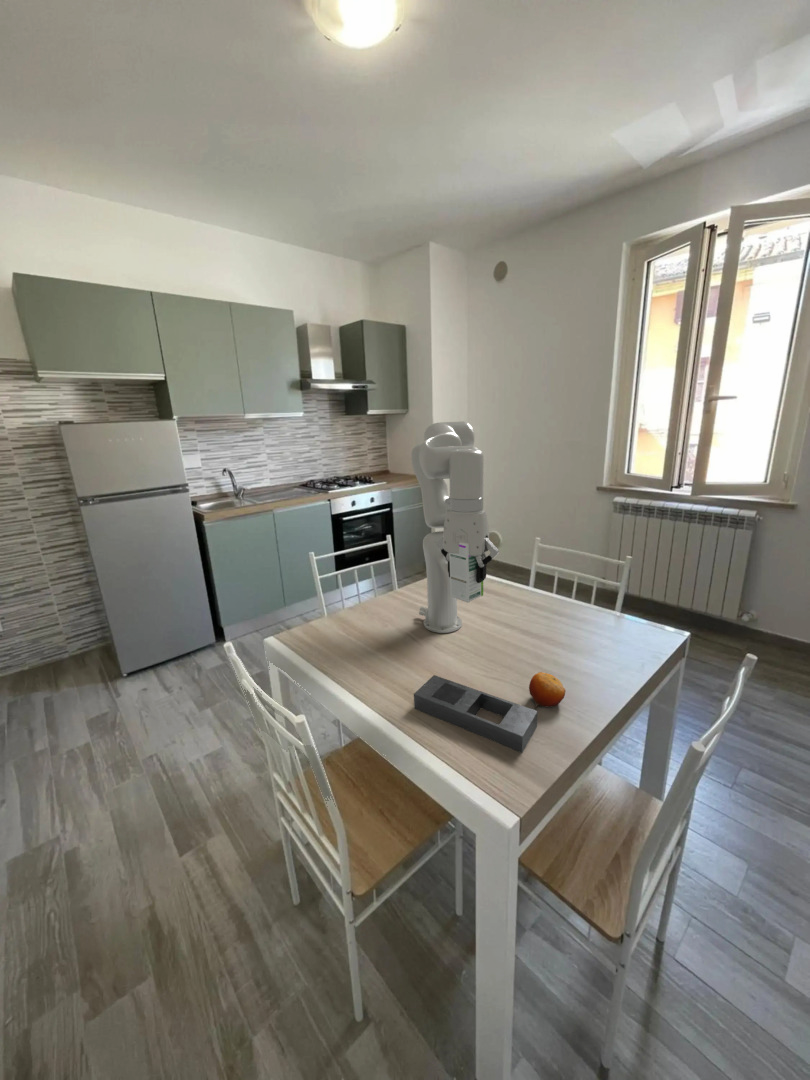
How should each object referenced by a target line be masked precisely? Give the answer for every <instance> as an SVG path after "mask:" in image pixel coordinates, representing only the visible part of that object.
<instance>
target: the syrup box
mask: <svg viewBox="0 0 810 1080" xmlns="http://www.w3.org/2000/svg"><path fill="white" fill-rule="evenodd" d="M460 542H461V541H460ZM458 545H459V553H449V555H450V591H451V596H452V597H454V598H456V599H457V600H459V601H461V602H465V603H470V602H472V601H474V600H476V599H478V598H480V597H483V596H484V580H483V581H482V582H481V583H477V582H476V568H477V567H478V566H479V564H478V562H477V560H476V557H473V556H470V555H469V544H468V543H465V542H461V543H459V544H458Z"/></svg>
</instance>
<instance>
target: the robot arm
mask: <svg viewBox="0 0 810 1080" xmlns="http://www.w3.org/2000/svg"><path fill="white" fill-rule="evenodd" d="M423 433H424V434H423V442H422V443H419V444H416V445H415V446H413V448H412V450H411V454H410V456H411V457H410V459H411V466H412V470H413V472H414V475H415V477H416V480H417V482H418V484H419V487H420V491H421V498H422V499H421V500H422V508H423V516H424V522H425V524H426V526H427V527H428V528H432V529H443V530H439V531H432V532H430V533H428V534H426V535H425V536H424V537H423V540H422V549H423V554H424V560H425V567H426V568H425V569H426V570H425V571H426V587H427V588H426V589H427V590H426V592H427V595H426V596H427V607H425V606H420V607H419V612H418V615H419V616H422V617H425V618H424V620H423V627H424V628H425V629H426V630H428V631H430V632H434V633H438V634H439V633H440V634H447V633H448V634H449V633H453V632H456V631H458V630H460V629H461V628H462V626H463V621H462V619H461V618H460V616H458V599H456V598H454V597H452V596H451V591H450V555H449V553H459V545H458V544H459V543H461V542H465V543H468V544H469V555H470V556H473V557H476V560H477V562H478V564H479V566H478V567H477V568H476V582H477V583H481V582H482V581H483V582H484V580H486V577H487V565H488V564H489V563H491V561H492V560H494V558H496V557H497V556H498V555H499V554H500V550H499V548H497V546H496V545H495V544H494V543H493V541H491V540H490V528H489V521H488V520H489V519H488V515H487V511H486V510H484V475H485V474H484V467H485V466H484V461H485V459H484V452H483V451H482V450H480V449H479V448H478V447H477V446H474V444H475V431H474V428H473V426H472V425H471V424H470V423H469V422H468V421H444V422H442V421H441V422H435V423H434V422H433V423H432V424H431V425H429V426H428V427H427V428H426V429H425V431H424V432H423ZM448 479H449V491H448V483H447V482H446V481H445V480H448ZM460 541H461V542H460ZM488 551H489V554H488V555H487V553H486V552H488Z"/></svg>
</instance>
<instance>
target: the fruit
mask: <svg viewBox="0 0 810 1080" xmlns="http://www.w3.org/2000/svg"><path fill="white" fill-rule="evenodd" d="M528 686H529V687H528V691H529V695H530V697H531V698H532V700H533V702H534V704H535V706H534V708H535V709H536V708H537V707H538V706H542V707H546V708H551V707H552V708H553V707H557V706H558V705H559V704H561V702H562V701H563V700H564V698H565V694H566V687H564V685H563V682H561V681H560V679H559V678H557V677H556V676H554V674H553V675H552V674H550V673H547V672H542V671H539V672H537V673H536V674H534V675H533V676H532V677H531V679H530V681H529V685H528Z"/></svg>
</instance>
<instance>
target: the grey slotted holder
mask: <svg viewBox="0 0 810 1080" xmlns="http://www.w3.org/2000/svg"><path fill="white" fill-rule="evenodd" d="M413 702H414V703H413V704H414V705H413V707H414V710H416V711H419V712H421V713H424V714H427V715H429V716H431V717H434V718H436V719H438V720H441V721H443V722H446V723H449V724H450V725H452V726H455V727H458V728H461V729H463V730H465V731H467V732H469V733H472V734H475V735H477V736H479V737H482V738H485V739H487V740H489V741H491V742H494V743H496V744H499V745H502V746H503V747H505V748H508V749H510V750H513V751H516V752H518V753H521V754H523V753H524V751H525V749H526V747H527V745H528V743H529V742H530V740H531V739H532V736H533V735H534V733H535V731H536V730H537V727H538V714H539V713H538V710H535V709H532V708H530V707H527V706H524V705H521V704H519V703H516V702H513V701H510V700H507V699H504V698H501V697H499V696H496V695H492V694H489V693H487V692H484V691H481V690H478V689H476V688H473V687H470V686H467V685H463V684H461V683H458V682H455V681H452V680H449V679H446V678H444V677H441V676H437V675H435V674H433V676H431V677H430V678H429V679H428V680H427V681H426V682H425V683H424V684H423V685H422V686H421V687H419V688H418V690H416V691H415V692H414V693H413ZM481 710H485V711H487V712H490V713H492V714H496V715H497V716H501V717H502V718H503V719H502V720H501V722H500V723H499V724H498V723H495V722H493V721H491V720H488V719H485V718H483V717H479V715H478V713H479V712H480V711H481ZM477 715H478V716H477Z"/></svg>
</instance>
